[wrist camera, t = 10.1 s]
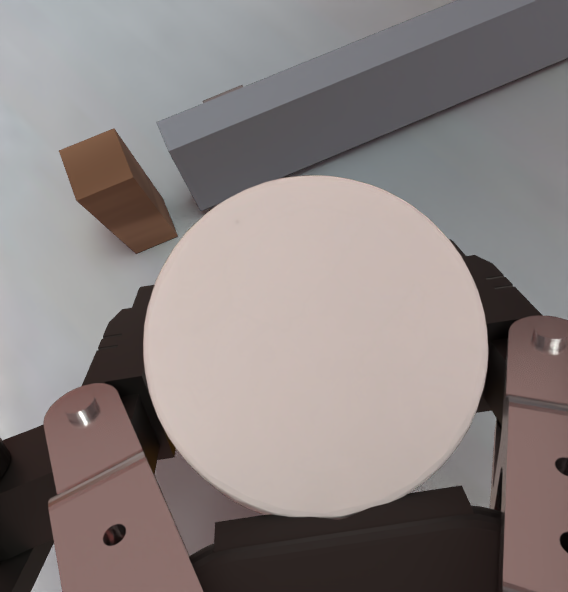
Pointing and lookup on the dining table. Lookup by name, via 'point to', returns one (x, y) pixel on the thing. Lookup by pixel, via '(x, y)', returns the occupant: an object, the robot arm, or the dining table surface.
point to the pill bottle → (315, 347)
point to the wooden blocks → (117, 191)
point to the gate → (360, 92)
